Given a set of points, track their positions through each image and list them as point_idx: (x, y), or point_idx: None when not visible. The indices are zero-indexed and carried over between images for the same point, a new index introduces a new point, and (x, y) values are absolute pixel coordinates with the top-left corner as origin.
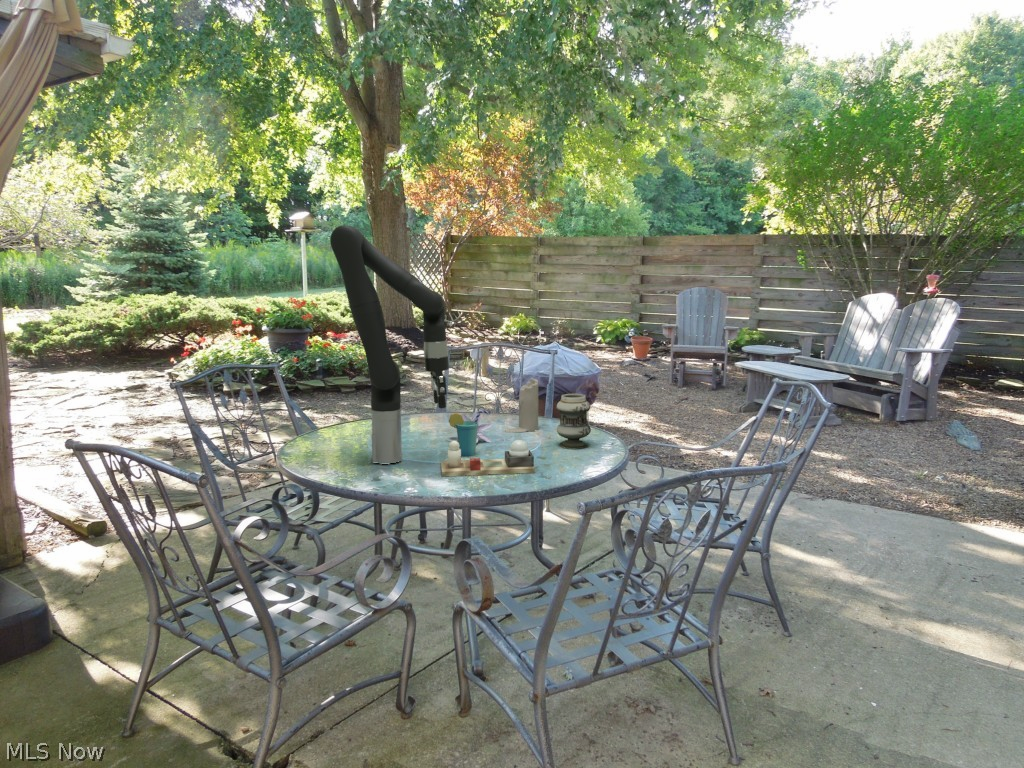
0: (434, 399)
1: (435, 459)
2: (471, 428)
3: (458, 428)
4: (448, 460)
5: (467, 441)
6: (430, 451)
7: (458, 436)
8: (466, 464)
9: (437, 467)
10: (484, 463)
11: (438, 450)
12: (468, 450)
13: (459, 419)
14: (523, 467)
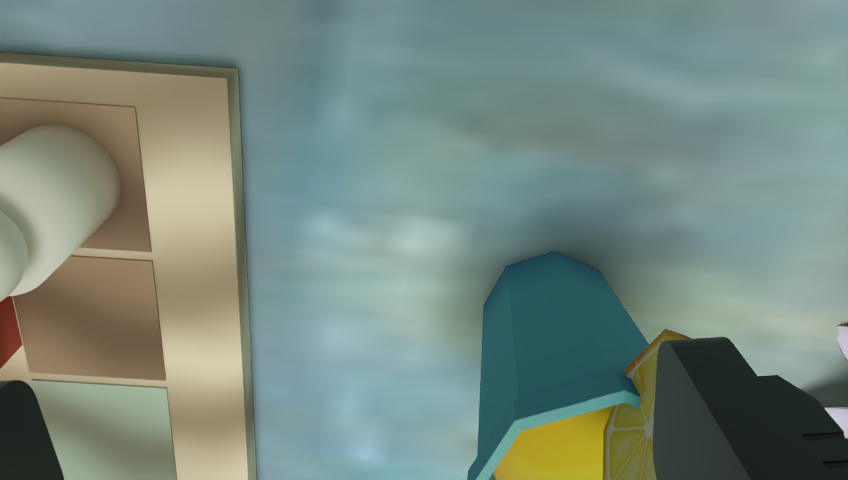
0: (693, 398)
1: (455, 37)
2: None
3: (561, 389)
4: (8, 143)
5: (483, 377)
6: (761, 13)
7: (567, 333)
8: (96, 269)
9: (186, 31)
10: (123, 387)
11: (766, 94)
12: (484, 335)
13: (629, 475)
14: None
